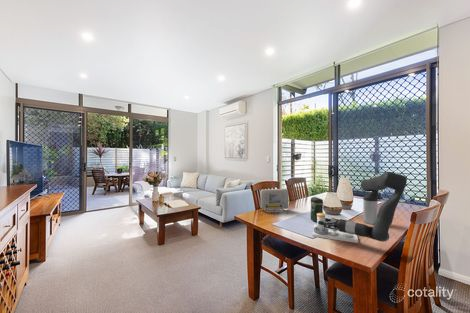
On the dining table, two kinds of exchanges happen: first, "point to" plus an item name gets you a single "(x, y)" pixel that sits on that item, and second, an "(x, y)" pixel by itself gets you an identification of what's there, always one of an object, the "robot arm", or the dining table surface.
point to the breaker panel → (334, 234)
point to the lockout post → (320, 218)
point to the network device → (274, 199)
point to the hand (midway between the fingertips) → (321, 220)
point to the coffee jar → (316, 207)
